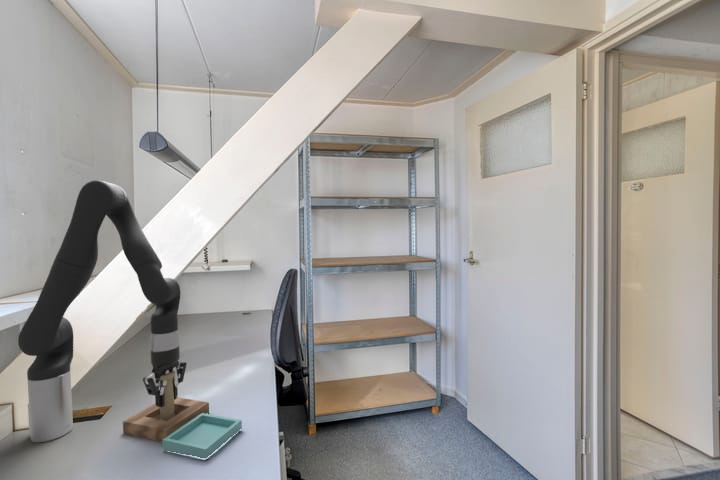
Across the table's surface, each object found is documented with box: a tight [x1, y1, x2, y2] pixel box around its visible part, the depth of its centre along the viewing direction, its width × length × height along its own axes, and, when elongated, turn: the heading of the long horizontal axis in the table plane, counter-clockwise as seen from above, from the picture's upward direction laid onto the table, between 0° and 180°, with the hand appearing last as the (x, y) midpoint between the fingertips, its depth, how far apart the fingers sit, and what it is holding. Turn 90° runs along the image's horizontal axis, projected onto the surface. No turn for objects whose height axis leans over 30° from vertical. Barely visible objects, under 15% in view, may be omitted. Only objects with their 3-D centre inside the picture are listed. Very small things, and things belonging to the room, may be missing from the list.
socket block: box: [122, 396, 210, 443], centre depth 106 cm, size 16×16×4 cm
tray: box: [162, 413, 243, 458], centre depth 97 cm, size 14×14×3 cm
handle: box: [158, 371, 175, 421], centre depth 106 cm, size 5×6×15 cm
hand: (166, 402), depth 106 cm, fingers closed on handle, 4 cm apart
